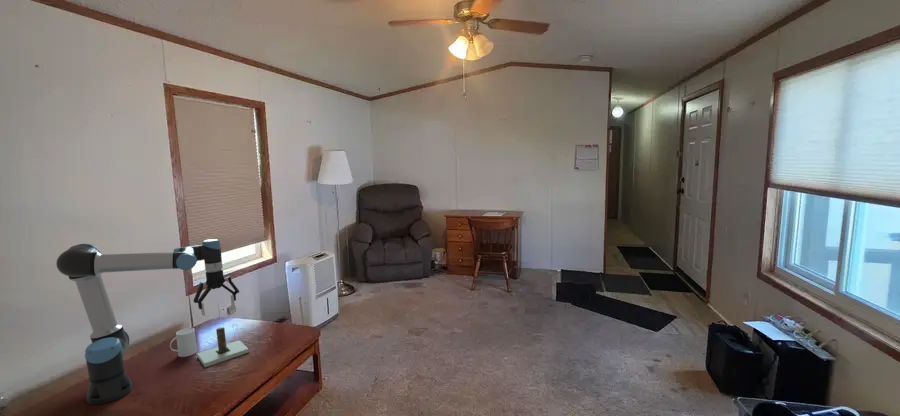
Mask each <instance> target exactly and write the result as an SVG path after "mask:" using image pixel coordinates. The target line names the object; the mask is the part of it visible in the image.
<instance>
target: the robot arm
mask: <svg viewBox="0 0 900 416" xmlns="http://www.w3.org/2000/svg"><path fill="white" fill-rule="evenodd" d="M220 242H221V241H220V240H219V239H216V238H210V239H205V240H203V241H202V242H201V244H198V245H189V246H181V247H175V248H174V249H173V252H171V251H168V252H166V251H165V252H164V251H162V252H141V253H140V252H139V253H138V252H137V253H106V254H103V253H102V252H101V250H100V249H99V248H98V247H97V246H96V245H93V244H91V243H80V244H76V245H72V246H70V247H69V248H68V249H67V250H65V251H63V252H62V253H60V255H59V256H58V257H57V259H56V263H55V264H56V265H55V266H56V268H57V270H58V271H59V272H60V273H61V274H62V275H64V276H67V277H68V278H69V280H70V281H73V282H75V284H76V285H75V286H76V287H77V290H78V293H79V295H80V299H81V301H82V304H83V307H84V310H85V313H86V315H87V318H88V321H89V324H90V326H91V330H92V333H90V335H89V338H90V341H91V343H90V344H89V345H87V347H86V348H85V353H84V357H85V358H84V359H85V362H86V367H87V368H86V369H87V372H88V373H87V374H88V378H89V379H88V380H89V386H88V389H87V392H86V403H87V404H89V405H102V404H103V405H104V404H108V403H110V402H114V401H117V400H118V399H121V398H123V397H125V396H127V395H128V394H129V393H130V392H131V391H132V389H133V382H132V380H131V379H130V377H129V376H128V374H127V373H126V371H125V365H124V364H125V363H124V355H125V353H126V351H127V349H128V348H129V345H130V341H131V340H130V336H129V333H128V332H127V331H126V330H125V329H124V326H123V324H120V323H118V321H117V319H116V316H115V314H114V311H113V307H112V304H111V301H110V298H109V295H108V293H107V289H106V287H105V283H104V281H103V278H102V274H103V273H119V272H120V273H121V272H139V271H157V270H158V271H159V270H174V269H175V270H177V269H179V270H182V271H189V270H192V269H193V268H194V267H195V266H196V265H197V262H199V261H201V262H202V261H204V270H205V277H206V278H205V279H206V281H203V282H202V281H200V282H199V283H198V288H197V291H196V293H195V296H194V297H193V302H194V303H195V304H197V306H198V309H199V310H201V315H202V316H203V317H204V316H206V314H205V305H204V302H203V301H204V299H205V298H206V297H207V295H208V294H209V293H210V292H211V290H216V289H220V288H221V287H222V288H223V289H225V290H227V292H229V293H230V302H231V305H230V306H231V307H232V308H233V309H235V308H236V306H235V301H237V294H239V293H240V290H239V288H238V287H237V286H236V285H235V283H234V282H233V281H232V277H231V276H229V275H228V276H227V277H224V270H223V269H224V268H223V260H222V250H221V249H222V248H221V243H220ZM225 282H227V283H228V284H229V285H230V286H231V287H232V288H233V290H234V291H233V290H232V289H231V288H230V287H228V286H227V285H225ZM205 285H206V288H205V289H204V287H205ZM203 290H204V291H203ZM202 291H203V293H202Z"/></svg>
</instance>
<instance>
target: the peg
mask: <svg viewBox="0 0 900 416" xmlns="http://www.w3.org/2000/svg"><path fill="white" fill-rule="evenodd" d="M215 330H216V339H217V347H218V349H219V354H218V355H220V354H223V353H226V352H228V351H227V347H226V344H227V340H226V331H225V330H226V329H225V327H218V328H216V329H215Z"/></svg>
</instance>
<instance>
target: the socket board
mask: <svg viewBox="0 0 900 416" xmlns="http://www.w3.org/2000/svg"><path fill="white" fill-rule="evenodd" d="M226 347H227V352H226V353H223V354H220V355H219V349H218V346H216V347H214V348H212V349H211V348H210V349H207V350H205V351H201V352H197V353H196V356H197V358H198V360H199V361H200V363H201V364H202V365H203V366H204V368H207V367H210V366H212V365H215V364H219V363H221V362H224V361H225V362H226V361H227V360H230V359H233V358H236V357H239V356H243V355H245V354H247V353H249V352H250V351H249V348H248V347H247V346H246V344H244V343H243V342H242V341H241V340H240V339H239V340H236V341H233V342H229V343H226Z"/></svg>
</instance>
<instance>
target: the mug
mask: <svg viewBox="0 0 900 416" xmlns="http://www.w3.org/2000/svg"><path fill="white" fill-rule="evenodd" d="M195 330H196V329H195V328H194V327H188V328H186V327H185V328H183V329H179V330H178V331H176V333H175V337H173V338H172V339H171V341H170V343H169V348H170V350H171V351H172V352H173V353H175V352H176V353H177V352H178V353H177V356H178V357H179V358H186V357H187V358H188V357H190V356H193V355H194V354H197V353H198V347H197V340H196V331H195ZM175 340H176V344H177V345H176V346H177V349H173V348H172V343H173V342H174V341H175Z"/></svg>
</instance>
